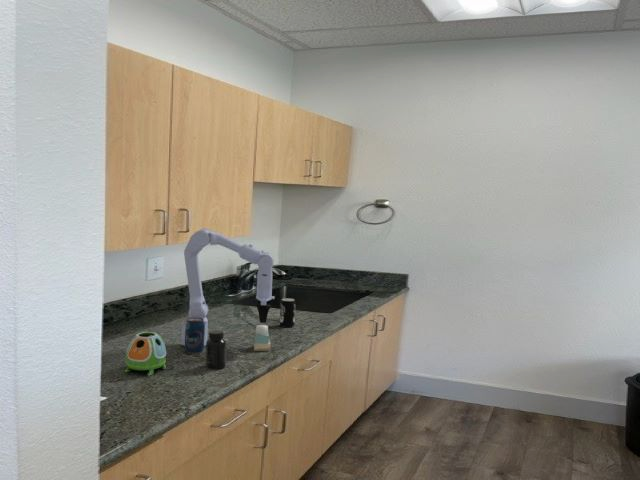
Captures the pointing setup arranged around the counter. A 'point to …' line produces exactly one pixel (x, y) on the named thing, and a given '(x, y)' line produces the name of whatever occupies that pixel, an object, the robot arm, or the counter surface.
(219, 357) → the supplement bottle
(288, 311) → the beverage can
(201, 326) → the soda can
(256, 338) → the teal block
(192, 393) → the counter surface
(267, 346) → the beech block
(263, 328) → the stoneware puck
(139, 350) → the turtle holder
